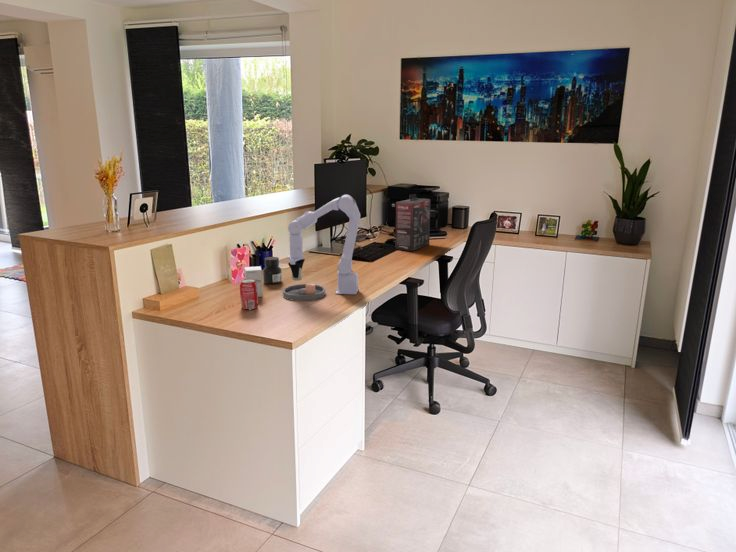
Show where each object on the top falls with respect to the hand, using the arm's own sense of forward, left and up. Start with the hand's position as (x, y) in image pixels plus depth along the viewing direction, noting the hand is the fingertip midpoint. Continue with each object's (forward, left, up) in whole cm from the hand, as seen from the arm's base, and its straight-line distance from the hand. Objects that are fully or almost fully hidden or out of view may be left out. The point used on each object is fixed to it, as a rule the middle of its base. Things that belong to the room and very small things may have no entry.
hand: (297, 276), depth 253 cm
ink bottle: (+16, -14, -8) cm, 23 cm away
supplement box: (+18, +8, -8) cm, 21 cm away
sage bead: (0, 0, -1) cm, 1 cm away
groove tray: (-4, +4, -7) cm, 9 cm away
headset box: (-48, -104, -8) cm, 115 cm away
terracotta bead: (-8, +8, -7) cm, 13 cm away
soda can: (+14, +26, -8) cm, 30 cm away
